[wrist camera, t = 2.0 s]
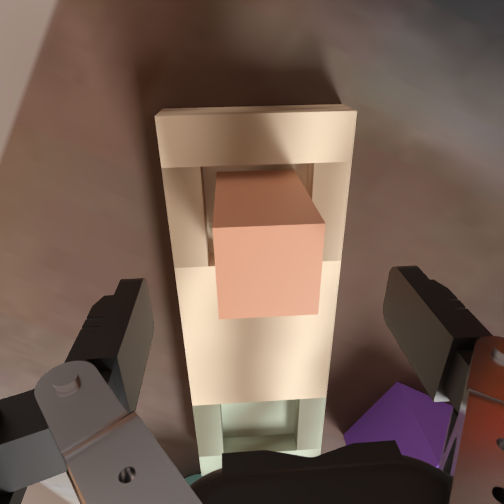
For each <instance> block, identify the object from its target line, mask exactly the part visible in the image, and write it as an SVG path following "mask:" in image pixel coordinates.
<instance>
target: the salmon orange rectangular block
mask: <svg viewBox="0 0 504 504" xmlns="http://www.w3.org/2000/svg"><path fill="white" fill-rule="evenodd" d="M325 224H326V223H325V222H324V220H323V218H322V217H321V215H320V213H319V211H318V210H317V208H316V206H315V205H314V203H313V201H312V199H311V198H310V196H309V194H308V192H307V191H306V189H305V187H304V186H303V184H302V182H301V180H300V179H299V177H298V175H297V174H296V172H295V170H294V169H291V170H260V171H230V172H217V174H216V187H215V200H214V213H213V226H212V230H213V244H214V258H215V272H216V286H217V300H218V313H219V319H239V318H258V317H278V316H297V315H317V314H318V310H319V298H320V285H321V273H322V261H323V248H324V236H325Z"/></svg>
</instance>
